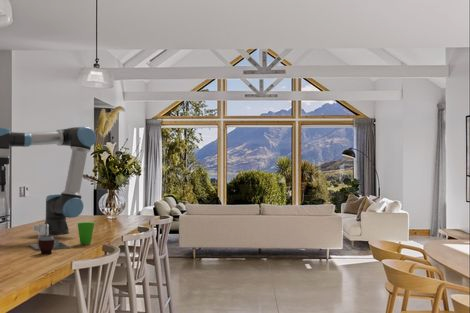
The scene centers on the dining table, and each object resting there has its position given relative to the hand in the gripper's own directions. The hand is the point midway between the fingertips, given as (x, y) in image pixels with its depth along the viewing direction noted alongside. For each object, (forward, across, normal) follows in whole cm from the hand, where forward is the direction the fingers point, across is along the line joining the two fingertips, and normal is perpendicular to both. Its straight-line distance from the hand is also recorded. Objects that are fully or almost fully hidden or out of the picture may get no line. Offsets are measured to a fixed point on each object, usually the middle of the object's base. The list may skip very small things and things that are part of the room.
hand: (0, 197), depth 285 cm
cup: (+24, +24, +39) cm, 52 cm away
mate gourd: (+24, +48, +15) cm, 55 cm away
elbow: (+24, +15, +18) cm, 33 cm away
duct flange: (+24, +28, +20) cm, 42 cm away
